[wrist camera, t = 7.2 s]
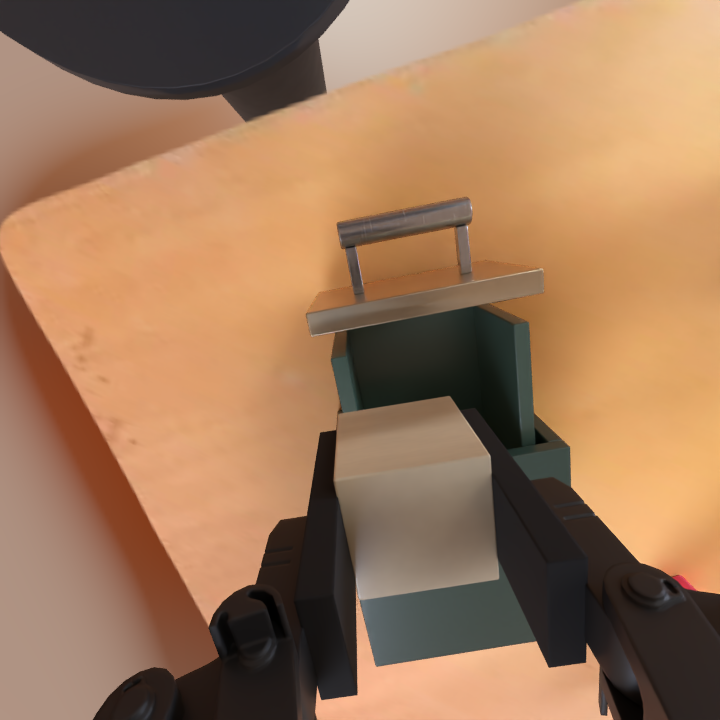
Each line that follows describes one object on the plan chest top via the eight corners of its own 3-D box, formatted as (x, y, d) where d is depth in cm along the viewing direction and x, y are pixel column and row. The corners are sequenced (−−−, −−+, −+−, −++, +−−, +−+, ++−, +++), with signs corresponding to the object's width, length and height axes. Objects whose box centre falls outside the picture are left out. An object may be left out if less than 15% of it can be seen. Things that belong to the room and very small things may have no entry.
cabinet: (337, 410, 29) (331, 488, 20) (500, 381, 29) (570, 446, 20) (368, 549, 33) (375, 667, 24) (511, 525, 33) (574, 635, 24)
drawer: (305, 232, 24) (285, 228, 17) (481, 197, 24) (540, 177, 16) (353, 452, 29) (354, 525, 22) (500, 426, 29) (552, 490, 21)
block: (337, 413, 13) (332, 480, 9) (450, 394, 13) (491, 455, 9) (356, 507, 14) (358, 602, 11) (459, 491, 14) (500, 580, 11)
